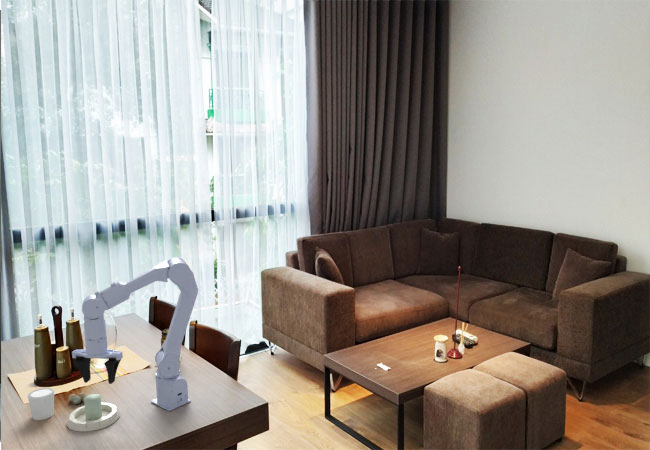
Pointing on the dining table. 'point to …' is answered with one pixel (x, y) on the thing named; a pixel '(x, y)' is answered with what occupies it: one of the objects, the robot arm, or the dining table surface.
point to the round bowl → (82, 425)
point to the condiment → (164, 335)
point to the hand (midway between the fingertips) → (99, 381)
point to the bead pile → (77, 398)
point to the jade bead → (93, 407)
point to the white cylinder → (41, 403)
